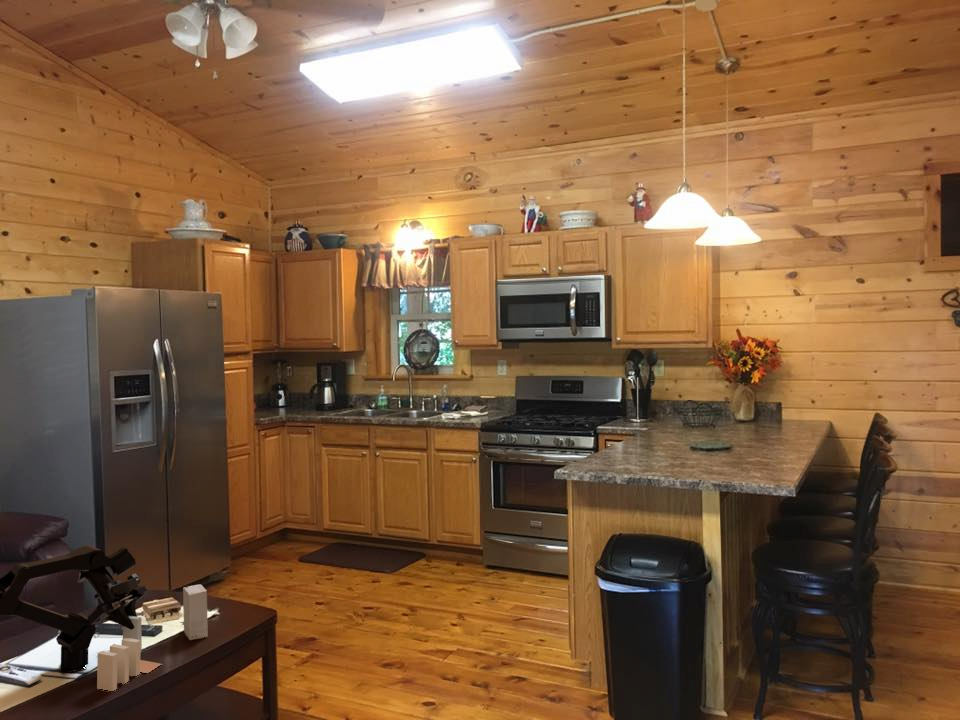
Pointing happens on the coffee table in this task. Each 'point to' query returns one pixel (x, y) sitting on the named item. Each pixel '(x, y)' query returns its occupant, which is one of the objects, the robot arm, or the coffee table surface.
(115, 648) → the domino
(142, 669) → the tile
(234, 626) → the coffee table surface
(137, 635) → the domino
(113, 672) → the domino
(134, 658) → the domino
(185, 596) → the skincare box
